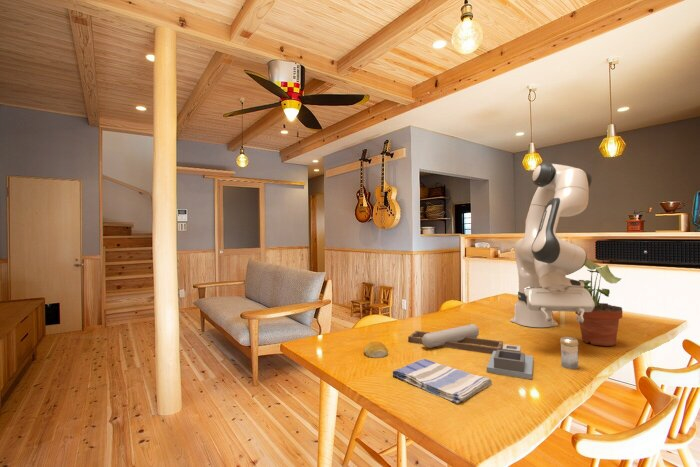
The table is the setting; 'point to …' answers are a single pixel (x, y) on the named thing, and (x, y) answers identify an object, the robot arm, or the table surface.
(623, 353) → the table surface
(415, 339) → the tube tray
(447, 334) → the tube
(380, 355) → the bread roll
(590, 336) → the potted plant
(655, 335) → the table surface
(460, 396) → the dish towel
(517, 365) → the plate
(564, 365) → the clear cylindrical piece
